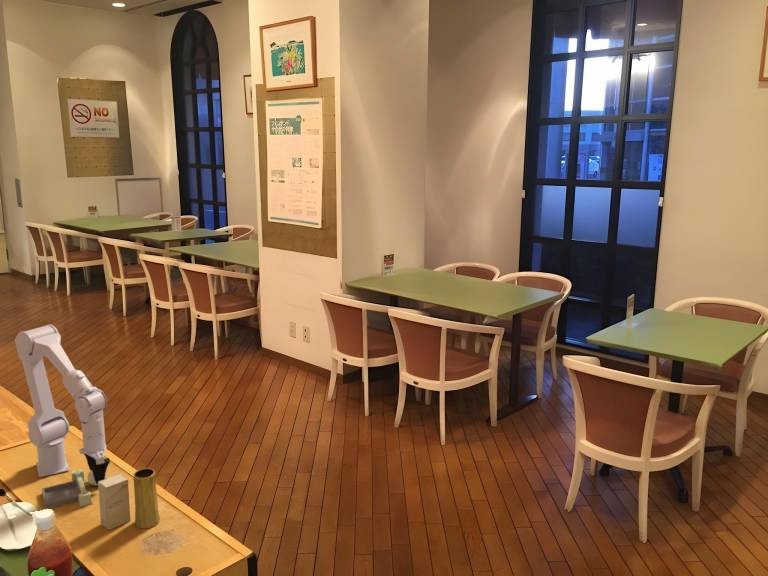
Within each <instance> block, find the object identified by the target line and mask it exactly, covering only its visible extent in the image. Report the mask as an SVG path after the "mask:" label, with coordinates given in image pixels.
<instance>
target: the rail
mask: <svg viewBox="0 0 768 576" xmlns="http://www.w3.org/2000/svg"><path fill="white" fill-rule="evenodd" d="M70 474H71V481H75V480H77V483H78V486H79V489H80V492H81V494H78V497H79V501H78V506H79V507H80V508H81V507H84V506H89V505H92V504H93V502H92V493H91V490H90V491H87V489H86V486H85V483H84V481H85V475H84V469H83V468H81V469H76V470H72V471H71V473H70Z"/></svg>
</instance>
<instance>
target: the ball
mask: <svg viewBox="0 0 768 576" xmlns="http://www.w3.org/2000/svg"><path fill="white" fill-rule="evenodd" d="M107 475H108V474H107V473H106V474H105V479H107ZM87 481H88V483H89V484H90V485H92V486H95V487H98V484H96V482H95V479H94V476H93V472H92V470H91V471H90V470H89V472H88V474H87Z"/></svg>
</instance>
